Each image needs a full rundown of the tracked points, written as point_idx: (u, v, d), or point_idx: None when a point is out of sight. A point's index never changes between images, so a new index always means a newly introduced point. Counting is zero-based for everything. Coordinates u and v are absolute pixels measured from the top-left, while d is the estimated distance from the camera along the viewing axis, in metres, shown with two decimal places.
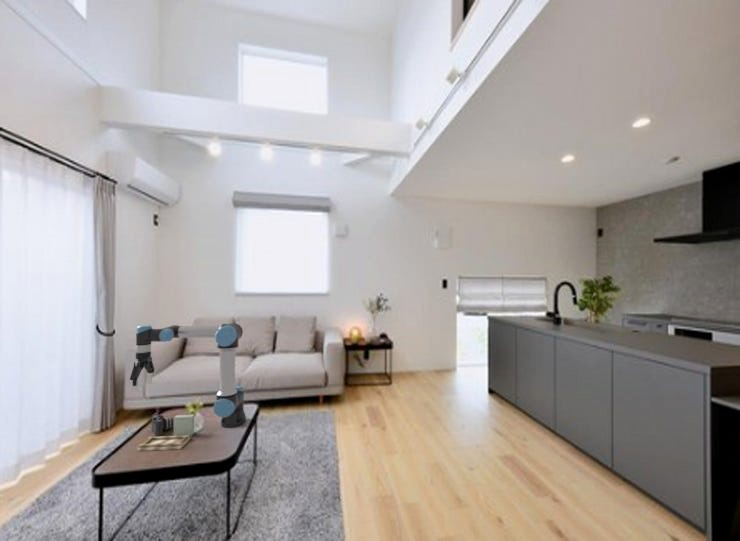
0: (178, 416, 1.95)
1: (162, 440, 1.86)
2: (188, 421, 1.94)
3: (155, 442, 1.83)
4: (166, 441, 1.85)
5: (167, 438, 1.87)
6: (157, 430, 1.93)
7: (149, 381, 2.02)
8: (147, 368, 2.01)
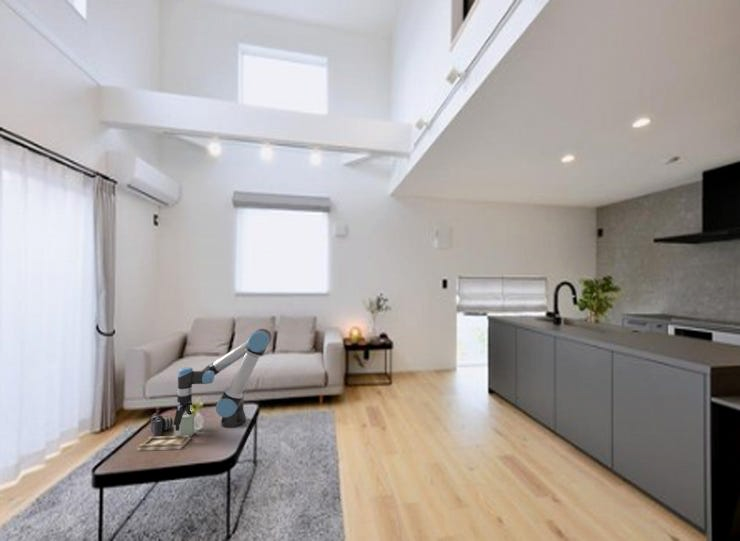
0: None
1: (162, 440, 1.86)
2: (188, 421, 1.94)
3: (155, 442, 1.83)
4: (166, 441, 1.85)
5: (167, 438, 1.87)
6: (156, 430, 1.92)
7: None
8: (187, 410, 2.01)
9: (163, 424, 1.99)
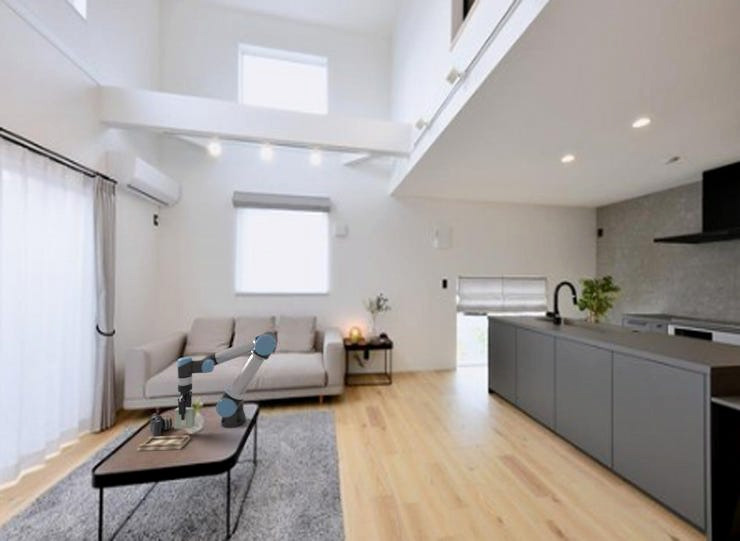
0: None
1: (162, 440, 1.86)
2: (188, 413, 1.95)
3: (155, 442, 1.83)
4: (166, 441, 1.85)
5: (167, 438, 1.87)
6: (155, 430, 1.92)
7: None
8: (186, 403, 1.98)
9: (162, 424, 1.99)
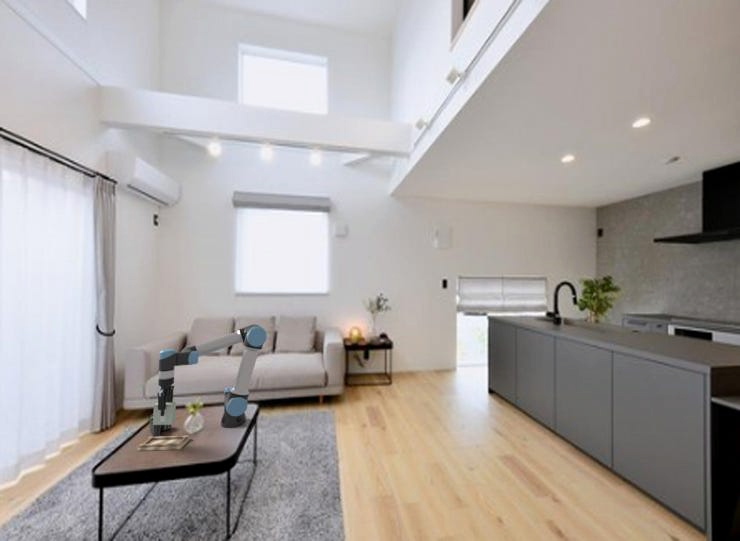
0: None
1: (162, 440, 1.86)
2: (168, 409, 1.83)
3: (155, 442, 1.83)
4: (166, 441, 1.85)
5: (167, 438, 1.87)
6: (155, 431, 1.92)
7: None
8: (167, 398, 1.86)
9: None
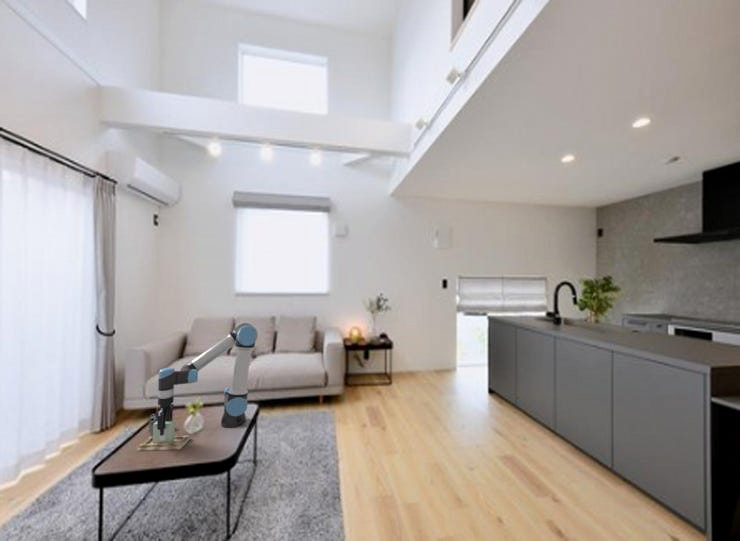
0: None
1: None
2: (168, 428, 1.82)
3: None
4: None
5: None
6: None
7: None
8: (166, 417, 1.86)
9: None
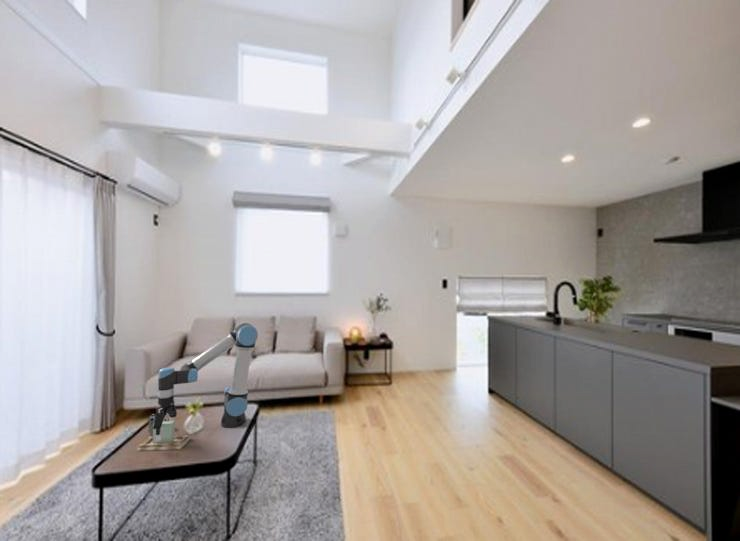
0: None
1: None
2: (168, 428, 1.82)
3: None
4: None
5: None
6: None
7: None
8: (170, 413, 1.89)
9: None
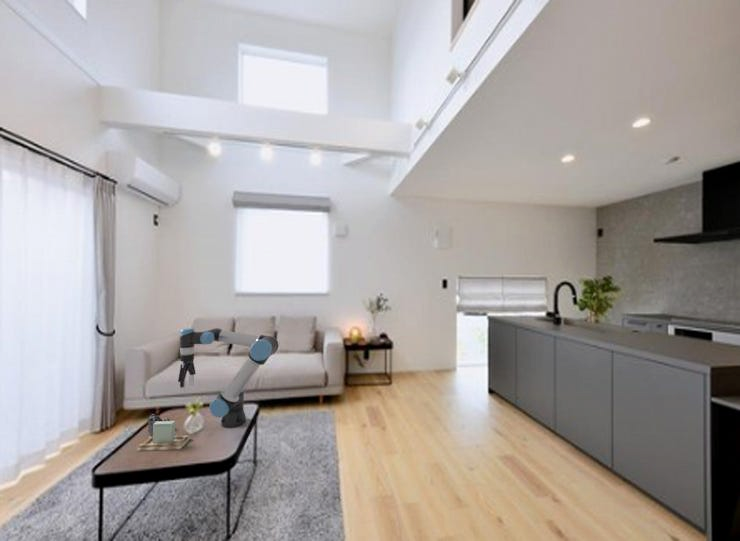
0: (158, 422, 1.83)
1: None
2: (168, 428, 1.82)
3: None
4: None
5: None
6: None
7: (191, 382, 2.08)
8: (190, 370, 2.07)
9: None
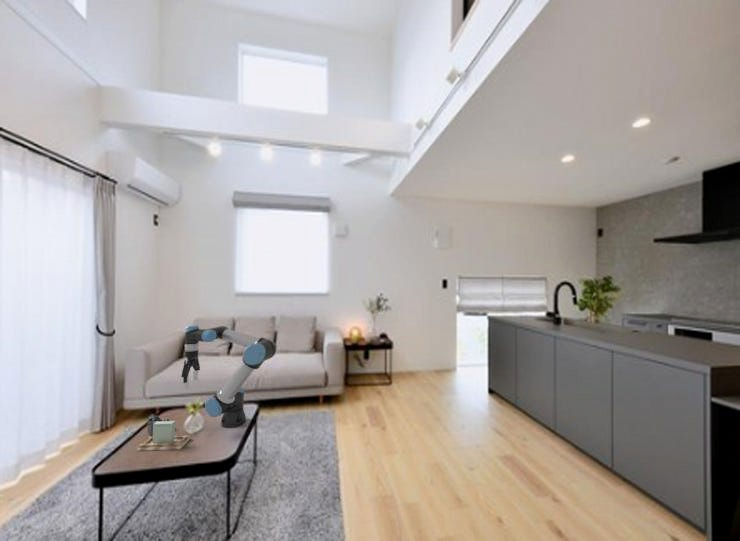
0: (158, 422, 1.83)
1: None
2: (168, 428, 1.82)
3: None
4: None
5: None
6: None
7: (196, 378, 2.13)
8: (194, 366, 2.11)
9: None
